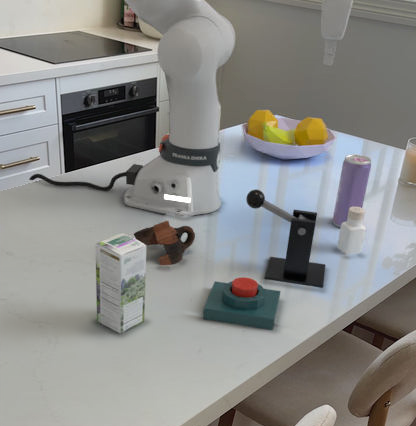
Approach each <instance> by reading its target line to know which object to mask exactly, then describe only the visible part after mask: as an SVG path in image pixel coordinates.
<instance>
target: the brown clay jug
mask: <svg viewBox="0 0 416 426" xmlns="http://www.w3.org/2000/svg"><path fill="white" fill-rule="evenodd" d="M183 234H186V235H187V237H186V239H185V241H183V240H182V236H183ZM133 235H134V236H133V237H134V238H135V239H137V240H138V241H140V242H142V243H143V244H145V245H146V246H153V245H154V246H155V245H160V246H163V248H164V249H165V252H166V253H165V254H164V255H161V256H159V257H158V258H157V260H158V263H159V265H160V266H172V265H176V264H179V263H180V262H181V261H182V260H183V256H184V255H183V254H184V253H185V251H186V250H187V249H189V248H190V247H191V246H192V245H193V243H194V241H195V238H196V233H195V231H194V228H192V227H191V226H189V225H182V226H179V227H173V226H171V225H170V221H169V220H165V221H161V222H158V223H157V224H154V225H152V226H149V227H145V228H142V229H139V230H138V231H135V232H134V233H133Z"/></svg>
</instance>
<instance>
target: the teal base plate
mask: <svg viewBox="0 0 416 426" xmlns="http://www.w3.org/2000/svg"><path fill="white" fill-rule="evenodd" d="M232 282H233V280H231V281H229V282H223V281H216V280H215V281H214V282H213V284H212V288H211V290H210V292H209V295H208V297H207V300H206V302H205V304H204V307H203V317H202V318H203V320H208V321H214V322H220V323H226V324H233V325H239V326H246V327H252V328H258V329H259V328H260V329H265V330H270V331H273V330H274V327H275V320H276V316H277V311H278V306H279V303H280V297H281V290H276V289H270V288H269V289H268V288H264V287H263V285H262V284H259V283H258V288H257V294H256V296H254V297H248V298H244V297H238V296H236V295H234V294H232V291H231V290H232Z"/></svg>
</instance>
